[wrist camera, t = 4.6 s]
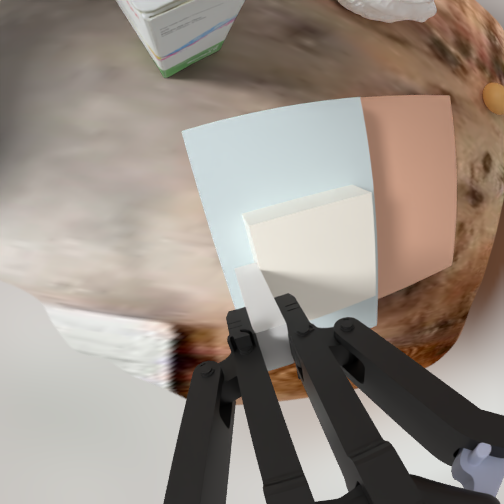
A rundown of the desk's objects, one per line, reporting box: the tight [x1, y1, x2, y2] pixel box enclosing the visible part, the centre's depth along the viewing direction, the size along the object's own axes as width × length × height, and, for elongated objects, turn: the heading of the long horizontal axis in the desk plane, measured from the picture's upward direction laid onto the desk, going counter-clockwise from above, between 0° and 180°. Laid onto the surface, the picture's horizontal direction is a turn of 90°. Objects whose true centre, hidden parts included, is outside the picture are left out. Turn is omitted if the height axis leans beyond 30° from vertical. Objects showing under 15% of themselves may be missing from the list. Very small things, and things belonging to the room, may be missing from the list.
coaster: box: [242, 185, 376, 321], centre depth 19 cm, size 8×8×2 cm
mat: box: [360, 95, 457, 299], centre depth 25 cm, size 20×14×1 cm
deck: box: [182, 97, 378, 328], centre depth 22 cm, size 20×12×4 cm, turn 14°
